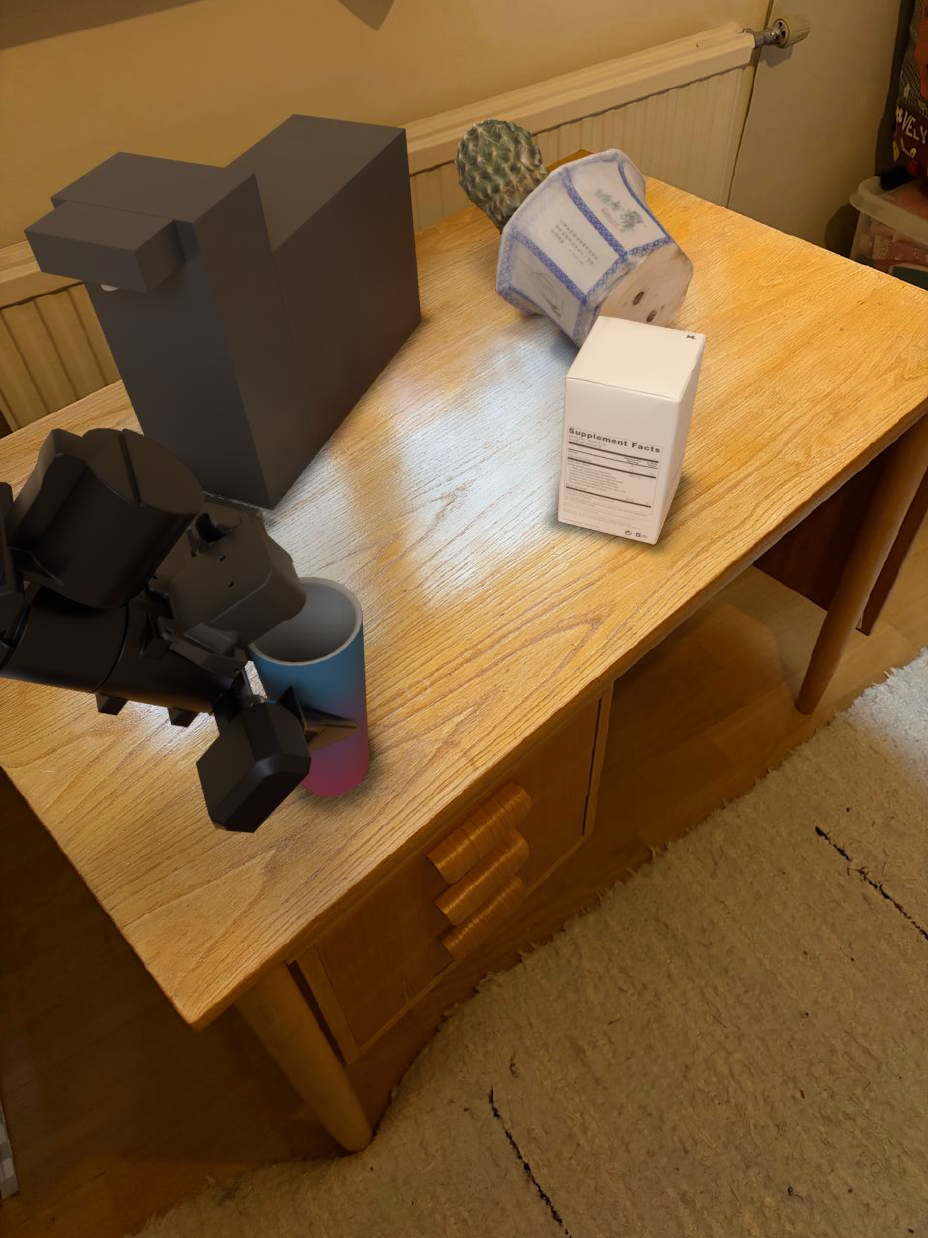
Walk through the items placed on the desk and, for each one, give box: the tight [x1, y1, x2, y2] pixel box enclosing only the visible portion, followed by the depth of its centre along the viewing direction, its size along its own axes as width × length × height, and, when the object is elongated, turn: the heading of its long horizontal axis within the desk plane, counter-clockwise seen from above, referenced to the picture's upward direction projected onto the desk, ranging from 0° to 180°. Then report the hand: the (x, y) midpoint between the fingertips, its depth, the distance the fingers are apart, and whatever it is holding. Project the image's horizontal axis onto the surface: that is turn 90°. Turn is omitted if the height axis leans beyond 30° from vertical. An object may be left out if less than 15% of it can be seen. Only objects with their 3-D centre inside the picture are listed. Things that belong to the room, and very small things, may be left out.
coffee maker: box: [23, 113, 422, 511], centre depth 78 cm, size 37×12×26 cm, turn 158°
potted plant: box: [453, 117, 694, 350], centre depth 91 cm, size 18×18×30 cm
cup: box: [247, 576, 370, 797], centre depth 55 cm, size 7×7×15 cm
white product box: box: [557, 316, 707, 545], centre depth 71 cm, size 9×9×15 cm
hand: (337, 692), depth 55 cm, fingers closed on cup, 6 cm apart
